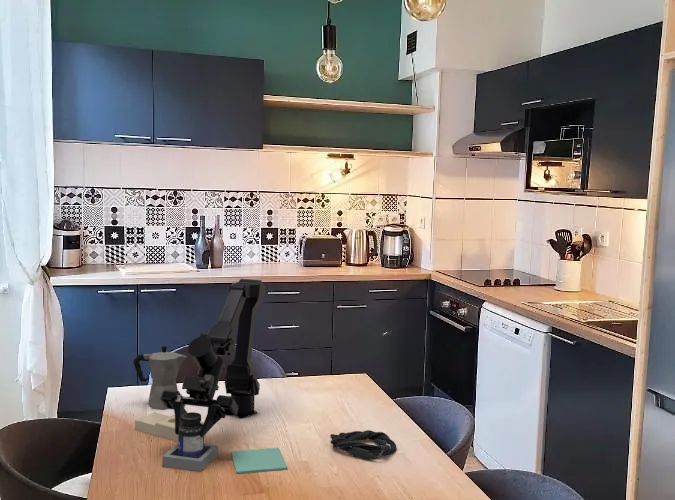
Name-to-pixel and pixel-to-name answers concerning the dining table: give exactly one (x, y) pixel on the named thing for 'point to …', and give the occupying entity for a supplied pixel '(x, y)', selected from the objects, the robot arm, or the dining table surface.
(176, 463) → the collar
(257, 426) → the dining table surface
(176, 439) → the electrical outlet
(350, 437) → the cable
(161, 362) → the coffeepot
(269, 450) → the mat
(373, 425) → the dining table surface
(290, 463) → the dining table surface
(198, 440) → the pill bottle
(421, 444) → the dining table surface
